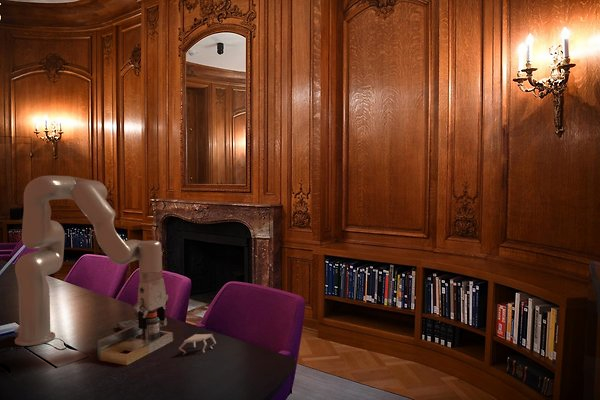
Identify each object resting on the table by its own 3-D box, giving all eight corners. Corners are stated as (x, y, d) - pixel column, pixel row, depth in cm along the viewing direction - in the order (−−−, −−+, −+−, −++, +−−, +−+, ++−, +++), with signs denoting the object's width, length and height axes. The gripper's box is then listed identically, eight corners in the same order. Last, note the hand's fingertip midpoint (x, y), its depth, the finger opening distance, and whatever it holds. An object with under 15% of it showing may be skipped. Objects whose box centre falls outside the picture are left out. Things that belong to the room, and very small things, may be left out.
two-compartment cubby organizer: (96, 359, 147) (96, 341, 147) (145, 336, 169) (145, 320, 169) (126, 365, 143) (126, 346, 143) (172, 340, 165) (172, 324, 165)
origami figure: (200, 343, 162) (200, 330, 162) (217, 348, 157) (217, 334, 157) (173, 354, 152) (173, 339, 152) (190, 359, 148) (190, 344, 147)
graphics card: (155, 311, 191) (166, 317, 182) (155, 320, 191) (167, 326, 182) (113, 319, 181) (123, 326, 171) (113, 328, 181) (124, 336, 172)
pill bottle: (144, 341, 165) (144, 309, 164) (161, 340, 165) (161, 309, 165) (140, 347, 159) (140, 314, 158) (158, 346, 159) (157, 314, 159)
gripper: (143, 282, 151) (144, 333, 152) (174, 272, 168) (176, 318, 168) (124, 280, 154) (126, 330, 155) (157, 270, 170) (159, 316, 171)
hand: (152, 324), depth 161 cm, fingers open, 9 cm apart
